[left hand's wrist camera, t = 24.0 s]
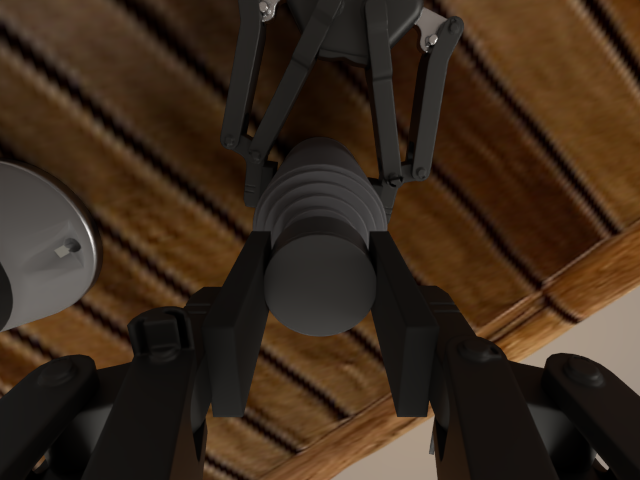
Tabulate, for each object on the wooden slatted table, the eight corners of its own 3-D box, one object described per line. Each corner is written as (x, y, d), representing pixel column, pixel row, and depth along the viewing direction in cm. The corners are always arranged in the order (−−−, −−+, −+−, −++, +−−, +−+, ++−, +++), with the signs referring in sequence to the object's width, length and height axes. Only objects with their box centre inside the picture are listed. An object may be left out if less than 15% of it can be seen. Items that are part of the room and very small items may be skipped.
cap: (390, 259, 14) (401, 284, 12) (323, 321, 16) (324, 355, 13) (315, 194, 13) (315, 210, 11) (250, 266, 15) (239, 292, 12)
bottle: (361, 139, 31) (427, 195, 12) (353, 215, 33) (397, 358, 14) (283, 134, 31) (224, 181, 12) (280, 210, 33) (229, 349, 14)
